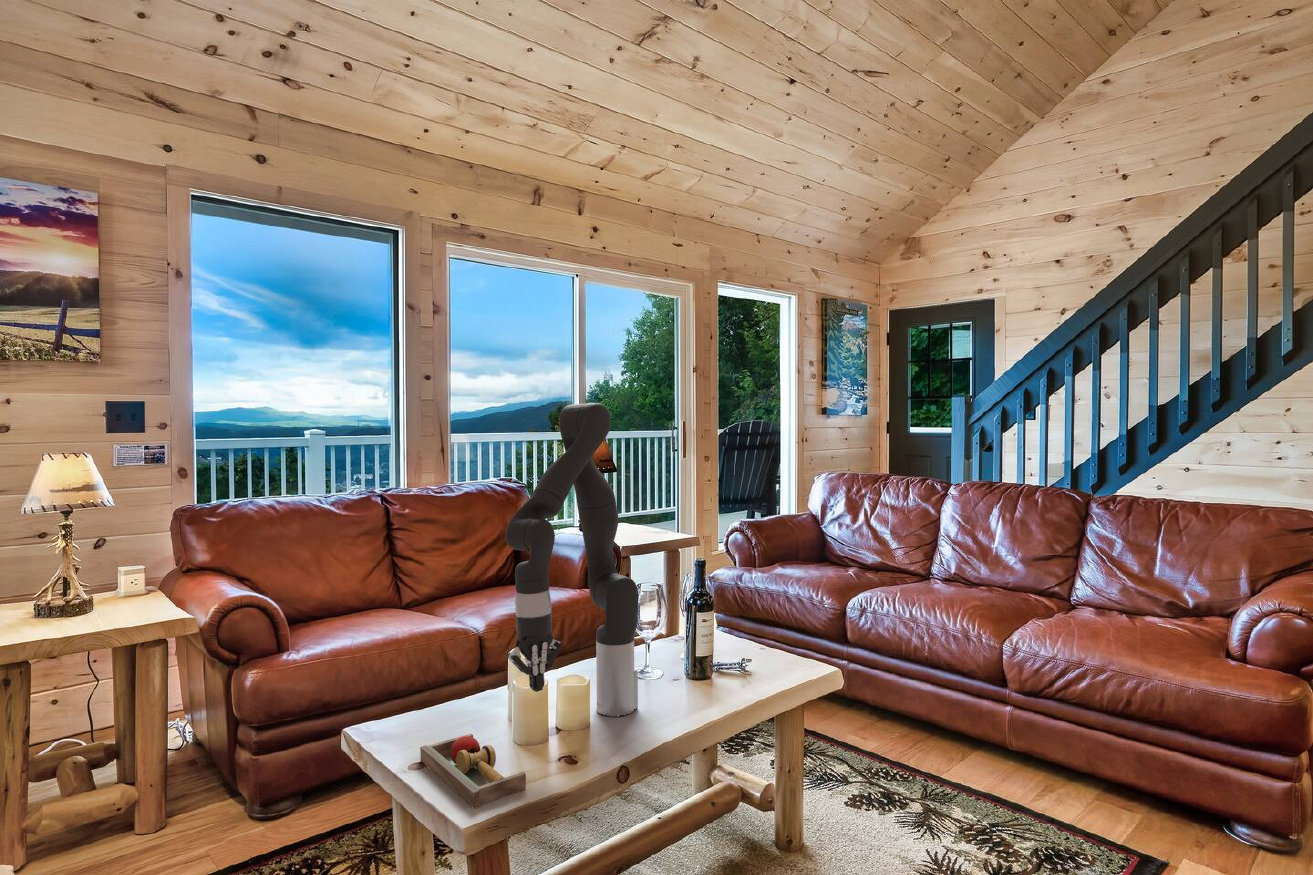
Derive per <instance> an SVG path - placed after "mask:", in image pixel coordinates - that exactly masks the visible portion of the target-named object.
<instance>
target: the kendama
mask: <svg viewBox="0 0 1313 875" xmlns="http://www.w3.org/2000/svg"><path fill="white" fill-rule="evenodd" d="M462 736H463V737H461V738H459V739H457V740H456V741H455V742H454V744H453V745H452V748H451V755H450V758H451V760H452V762H453V763H454V764H455V767H456V768H457V769H458V770H459V771H461V772H462V773H463V774H464V775H465V774H467V773H468V772H469V771H470V769H473V768H477V769H478V771H479V772H480V774H481V776H482V777H483V778H484V779H485V781H486V782H488V783H491V782H494V781H497V780H500V779H503V778H505V776H503V775H502V774H500V772H498V771H497V770H496V769H494V768H495V765H496V761H497V756H496V755H497V754H496V751H495V749H494V746H493V745H491V744H487V745H483V746H482V747H481V746H480V743H479V742H478V740H477V739H476V738H475V737H474V736H473V737H470V736H464V735H462ZM488 783H487V784H488Z"/></svg>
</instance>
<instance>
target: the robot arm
mask: <svg viewBox="0 0 1313 875" xmlns="http://www.w3.org/2000/svg"><path fill="white" fill-rule="evenodd" d="M558 420H559V421H558V426H559V432H560V437H561V442H562V445H563V447H564V451H565V452H564V453H563V454H561V455H560V456H559V457H558V458H557V459H556V460H555V461H554V462H553V463H552V464H550V465H549V467H547V469H546V470H545V471H544V473H543V474H542V476H541V477H540V478H539V481H538V483H537V484H536V486H535V489H534V490H533V492H532V493H531V496H530V498H529V499H527V500H526V501H525V502H524V503H523V504H522V506H521V507H519V509H518V510H517V511H516V512H515V513H514V514H513V515H512V517H511V518H510V519H509V521H508V523H507V526H506V529H505V532H504V537H505V542H506V544H507V546H508V547H509V548H511V549H513V550H515V551H523V552H525V551H526V552H530V556H529V559H528V560H526V561H522V562H520V563H518V564H517V565H516V567H515V569H514V570H515V571H514V579H515V580H514V581H515V598H514V607H515V609H514V610H515V626H516V627H515V628H516V630H515V631H516V636H517V639H516V643H515V648H514V649H513V651H512V652H511V651H510V652H508V653H506V657H507V659H508V660H509V661H510V662H511V663H512V664H513V665H514V666H515V667H516V668H517V670H518V671H519V672H521V673H524V674H525V675H527V676H528V680H529V681H528V682H529V687H530V689H531V690H532V691H533V692H535V693H538V692H540V691H543V690H544V689H543V688H544V686H545V672H546V670H548V669H551V668H552V667H553V664H554V663H555V660H556V658H557V657H558V655H559V653H560V651H561V649H562V647H563V643H562V642H561V641H560V640H556V639H554V635H553V633H552V630H553V621H552V618H553V617H552V602H551V601H552V600H551V593H550V579H549V578H550V577H549V568H550V564H551V559H552V553H553V550H554V545H555V540H556V538H555V537H556V536H555V535H556V534H555V533H556V532H555V529H554V526H553V525H552V523H551V522H550V521H549V520H548V519H551V518H554V517H556V516H557V515H558V514H559V513H560V511H561V510H562V508H563V506H564V503H565V501H566V499H567V497H568V495H569V493H570V491H571V490H572V487H574V494H575V499H576V505H577V506H576V507H577V513H578V517H579V522H580V528H581V531H582V538H583V545H584V548H585V555H586V561H587V573H588V574H587V575H588V576H587V577H588V588H589V595H590V598H591V599H590V600H591V601H592V603H593V604H594V605H595V606H596V607H597V608H599V609H601V610H604V611H605V617H604V618H605V619H604V622H605V623H604V624H603V625H602V624H601V625H600V626H598V628H596V634H595V642H596V644H595V648H596V651H595V652H596V655H595V656H596V664H595V665H596V667H595V669H596V711H597V713H599V714H600V715H602V714H603V716H605V715H607V717H619V716H618V715H624V716H626V715H625V714H628V715H630V714H632V713H633V712H634V711H635V710H636V708H637V709H638V708H639V685H638V684H639V680H638V679H639V676H638V675H639V674H638V671H639V670H638V669H637V668H635V633H636V631H637V628H638V620H639V617H638V616H639V589H638V585H637V584H636V582H635V581H634V579H632V578H631V577H628V576H625V575H623V574H619V573H618V570H617V566H616V562H615V556H614V543H615V538H616V536H617V535H616V534H617V531H618V526H619V512H618V506H617V502H616V501H617V500H616V495H615V493H614V490H613V488H612V487H611V485H610V484H609V482H608V480H607V479H606V478H605V476H604V475H603V473H602V472H601V471H600V470H599V468H598V466H596V464H595V462H594V460H593V458H592V457H593V456H594V455H595V453H596V452H597V450H598V449H599V448H600V447H601V445H602V443H603V442H604V441H605V439H606V438H607V437H608V435H609V432H610V429H611V424H612V420H611V414H610V411H609V409H608V407H606V406H605V405H604V404H602V403H599V402H598V403H597V402H587V403H573V404H569V405H568V404H567V405H566V406H564V407H563V408H562V409H561V411H560V414H559V419H558ZM522 656H523V657H524V661H525V662H524V661H523V660H522ZM634 709H635V710H634Z"/></svg>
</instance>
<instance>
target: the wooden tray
mask: <svg viewBox="0 0 1313 875" xmlns="http://www.w3.org/2000/svg"><path fill="white" fill-rule="evenodd" d="M463 736H470V737H473V738H474V735H473V734H472V733H468V734H465V735H460V736H458V737H453V738H450V739H447V740H443V741H440V742H435V743H433V744H429V745H426V744H425V745H423V746H420V748H419V749H420V762H421V761H422V762H424V764H423V765H424V766H426V767H427V766H428V767H429V768H430V769H431V770H432V771H431V770H430V769H429V768H428V767H427V768H428V769H429V770H430V771H431V772H434V773H433V774H434V775H436V776H437V777H438V779H440V778H441V779H442V780H443V781H444V782H443V781H442V780H441V779H440V780H441V781H442V782H443V783H445V785H446V786H448V787H449V788H450V789H451V790H452V791H454V792H455V794H456V795H458V796H459V797H460V798H461V797H462V798H463V799H464V800H465V803H467V804H468V805H469V806H470V807H471V808H472V807H473V808H474V809H477V808H479V807H480V806H481V805H484V804H486V803H490V802H492V801H493V802H494V801H495V800H498V799H501V798H503V797H507V796H510V795H513V794H515V793H518V792H521V791H523V790H524V791H525V790H526V789H527V778H526V777H527V774H526V772H524V771H522V772H518V773H515V774H512V775H510V776H507V777H504V778H503V779H500V780H497V781H494V782H491V783H485V784H482V785H480V786H478V785H477V784H476V783H475V782H474V781H473V780H471V778H470V777H468V776H467V775H465V774H463V773H462V772H461V771H459V770H458V769H457V768H456V765H454V764H452V763H451V762H450V761H449V760H448V759H447V758H446V756H447V757H449V755H450V756H451V748H452V745H453V744H454V742H455V741H456V740H457V739H459V738H461V737H463ZM422 762H421V763H422ZM462 798H461V799H462ZM463 799H462V800H463ZM464 800H463V801H464ZM476 807H477V808H476ZM473 808H472V809H473Z"/></svg>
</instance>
